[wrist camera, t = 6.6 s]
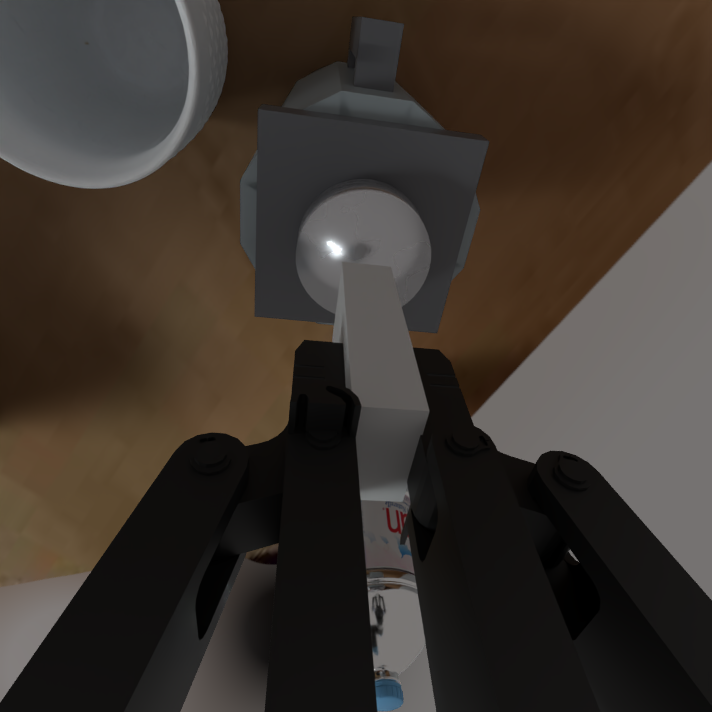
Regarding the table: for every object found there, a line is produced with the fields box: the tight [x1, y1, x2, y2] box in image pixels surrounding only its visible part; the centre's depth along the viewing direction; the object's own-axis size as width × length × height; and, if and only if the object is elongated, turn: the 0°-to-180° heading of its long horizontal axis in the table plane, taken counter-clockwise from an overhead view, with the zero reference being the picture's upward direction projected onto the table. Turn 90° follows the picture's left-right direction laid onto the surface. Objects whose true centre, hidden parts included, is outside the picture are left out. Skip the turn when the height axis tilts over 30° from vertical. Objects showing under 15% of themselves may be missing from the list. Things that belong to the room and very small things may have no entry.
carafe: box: [240, 17, 489, 333], centre depth 26 cm, size 10×12×16 cm
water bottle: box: [361, 486, 426, 711], centre depth 36 cm, size 7×7×25 cm
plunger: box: [296, 179, 431, 314], centre depth 24 cm, size 6×6×16 cm
